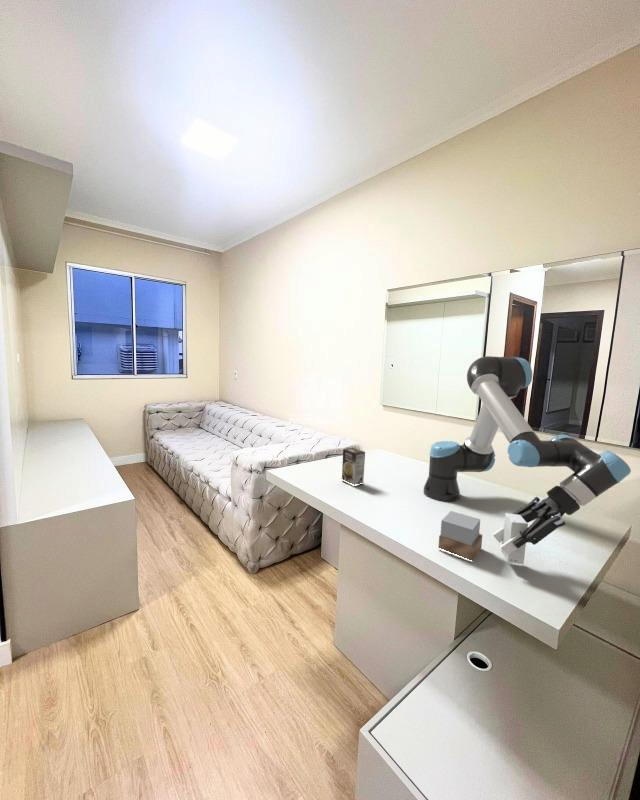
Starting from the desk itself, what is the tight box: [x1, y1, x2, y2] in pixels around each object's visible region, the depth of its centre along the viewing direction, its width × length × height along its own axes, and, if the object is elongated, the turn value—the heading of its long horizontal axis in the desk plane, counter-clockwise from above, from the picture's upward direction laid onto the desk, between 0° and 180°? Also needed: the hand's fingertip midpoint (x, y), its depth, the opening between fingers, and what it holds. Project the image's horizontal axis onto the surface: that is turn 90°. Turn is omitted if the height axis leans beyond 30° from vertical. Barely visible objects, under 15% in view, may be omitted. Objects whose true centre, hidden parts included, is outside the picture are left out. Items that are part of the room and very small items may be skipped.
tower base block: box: [437, 533, 483, 562], centre depth 106 cm, size 10×10×5 cm
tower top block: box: [439, 510, 481, 546], centre depth 106 cm, size 9×9×5 cm
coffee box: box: [341, 447, 366, 485], centre depth 162 cm, size 9×6×16 cm
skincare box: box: [500, 512, 529, 565], centre depth 98 cm, size 6×4×12 cm
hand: (499, 544), depth 98 cm, fingers closed on skincare box, 6 cm apart
